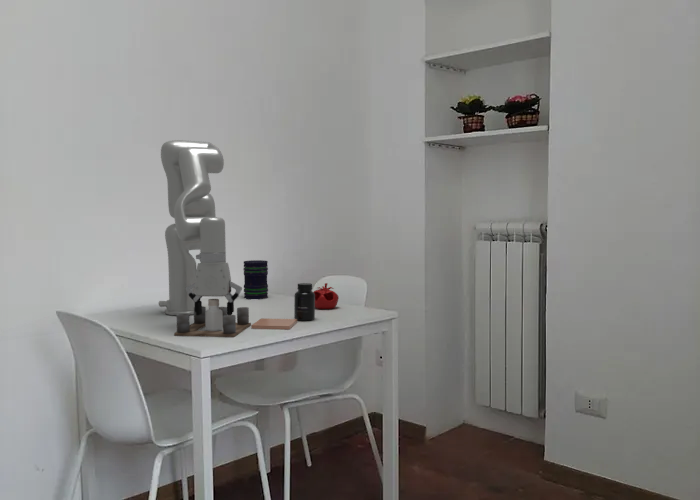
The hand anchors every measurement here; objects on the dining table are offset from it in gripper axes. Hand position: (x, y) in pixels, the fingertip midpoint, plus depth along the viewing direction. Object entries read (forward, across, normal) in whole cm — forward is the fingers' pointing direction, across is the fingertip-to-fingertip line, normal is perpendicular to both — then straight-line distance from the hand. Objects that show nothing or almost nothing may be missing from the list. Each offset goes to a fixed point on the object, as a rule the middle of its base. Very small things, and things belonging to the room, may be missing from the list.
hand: (214, 314), depth 195 cm
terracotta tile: (+5, +16, +10) cm, 20 cm away
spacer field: (+5, 0, 0) cm, 5 cm away
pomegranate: (+5, +27, +46) cm, 53 cm away
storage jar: (+4, -5, +68) cm, 68 cm away
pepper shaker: (+5, 0, 0) cm, 5 cm away
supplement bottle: (+5, +24, +22) cm, 32 cm away
